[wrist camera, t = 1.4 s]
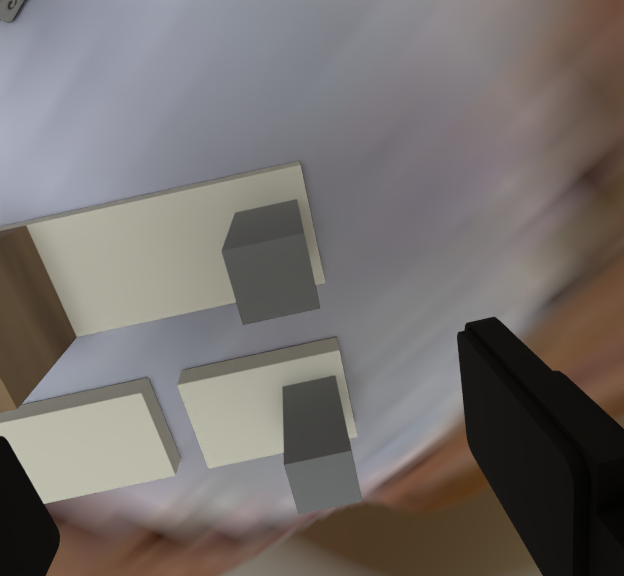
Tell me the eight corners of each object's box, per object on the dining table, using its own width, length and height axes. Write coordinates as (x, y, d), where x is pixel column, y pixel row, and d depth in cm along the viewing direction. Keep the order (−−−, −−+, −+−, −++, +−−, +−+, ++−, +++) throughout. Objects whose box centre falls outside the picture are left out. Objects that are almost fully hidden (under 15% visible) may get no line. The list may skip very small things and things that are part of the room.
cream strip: (299, 160, 23) (309, 188, 16) (322, 273, 25) (340, 339, 18) (-97, 247, 23) (-255, 311, 16) (-39, 351, 26) (-155, 445, 19)
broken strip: (336, 337, 27) (356, 420, 20) (353, 420, 29) (377, 521, 22) (-5, 410, 27) (-101, 518, 20) (39, 487, 29) (-34, 608, 22)
